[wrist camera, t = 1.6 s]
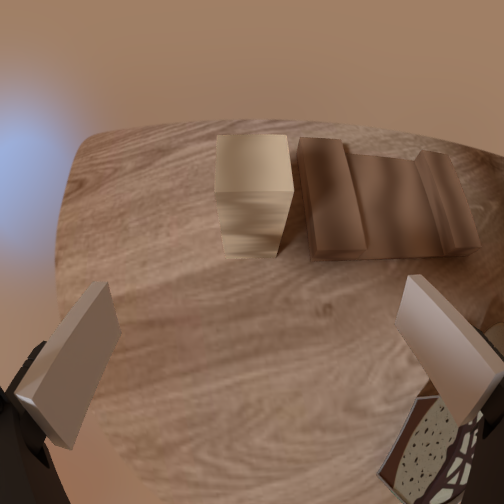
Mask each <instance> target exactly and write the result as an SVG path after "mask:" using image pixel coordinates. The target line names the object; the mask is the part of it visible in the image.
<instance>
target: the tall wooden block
mask: <svg viewBox="0 0 504 504" xmlns="http://www.w3.org/2000/svg"><path fill="white" fill-rule="evenodd" d="M214 194H215V200H216V206H217V212H218V218H219V224H220V230H221V236H222V242H223V248H224V254H225V259H246V258H276V255H277V252H278V248H279V245H280V241H281V238H282V234H283V230H284V227H285V223H286V220H287V216H288V212H289V209H290V205H291V201H292V198H293V194H294V186H293V178H292V170H291V163H290V156H289V149H288V142H287V135H263V134H252V135H217V146H216V165H215V187H214Z"/></svg>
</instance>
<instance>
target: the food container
mask: <svg viewBox="0 0 504 504" xmlns="http://www.w3.org/2000/svg"><path fill="white" fill-rule="evenodd" d="M482 416H483V414H482V412H481V411H479V413H478V414H477V415H476V417H475V418H474V419H473V420H472V421H471V422H469V423H466V424H464V425H462V426H460V427H458V426H457V424H456V422H455V420H454V419H453V417H452V415H451V413H450V412H449V410H448V408H447V406H446V405H445V403H444V401H443V400H442V398H441V396H440V395H434V396H423V397H416V399H415V402H414V404H413V406H412V408H411V410H410V413H409V415H408V417H407V419H406V421H405V423H404V425H403V427H402V429H401V431H400V433H399V435H398V437H397V439H396V441H395V443H394V444H393V446H392V448H391V450H390V452H389V454H388V455H387V457H386V459H385V460H384V462H383V464H382V466H381V467H380V469H379V470H378V472H377V474H376V476H377V477H378V478H379V479H380V480H381V481H382V482H383V483H384V484H385V485H386V486H387V487H388V488H389V490H390V491H391V492H392V493H393V494H394V495H395V496H396V497H397V498H398V499H399V500H400V501H401V502H402V503H403V504H458V503H459V502H461V501H462V498H463V494H464V491H465V487H466V484H467V480H468V476H469V472H470V468H471V464H472V460H473V455H474V450H475V444H476V439H477V436H475V434H476V433H477V432H478V428H477V429H476V430H475V431H474V433H473V434H472V435H470V431H471V429H472V428H473V427H474V426H475V425H476V423H477V422H478V421H479V420H480V419H481V417H482Z"/></svg>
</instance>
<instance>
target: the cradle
mask: <svg viewBox="0 0 504 504" xmlns="http://www.w3.org/2000/svg"><path fill="white" fill-rule="evenodd" d="M296 154H297V161H298V167H299V174H300V181H301V188H302V195H303V202H304V210H305V218H306V226H307V234H308V243H309V252H310V261H311V262H313V261H347V260H378V259H406V258H431V257H455V256H469V255H470V254H472V253H473V252H475V251H477V250H478V249H480V248H481V247H482V246H481V243H480V239H479V236H478V232H477V229H476V226H475V222H474V219H473V216H472V213H471V210H470V207H469V205H468V202H467V199H466V196H465V194H464V191H463V188H462V186H461V183H460V181H459V178H458V176H457V174H456V171H455V169H454V167H453V164H452V162H451V160H450V158H449V155H447V154H442V153H436V152H431V151H425V150H422V151H421V152H420V154H419V155H418V156H417V158H416V159H415V161H412V160H404V159H396V158H388V157H379V156H369V155H358V154H346V153H345V152H344V149H343V145H342V142H341V140H339V139H325V138H308V137H300V140H299V144H298V149H297V153H296Z"/></svg>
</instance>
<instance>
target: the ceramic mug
mask: <svg viewBox="0 0 504 504" xmlns="http://www.w3.org/2000/svg"><path fill="white" fill-rule="evenodd" d="M484 335H485V336H486V337H487V338H488V339H489V341H491V343H492V344H493V345H494V347H496V348H497V349H498V351H499V352H500V353H501V354H502V355H503V356H504V322H500V323H497V324H494V325H493V326H491V327H490V328H489V329H488V330H487V331H486V332H485V333H484Z"/></svg>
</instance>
